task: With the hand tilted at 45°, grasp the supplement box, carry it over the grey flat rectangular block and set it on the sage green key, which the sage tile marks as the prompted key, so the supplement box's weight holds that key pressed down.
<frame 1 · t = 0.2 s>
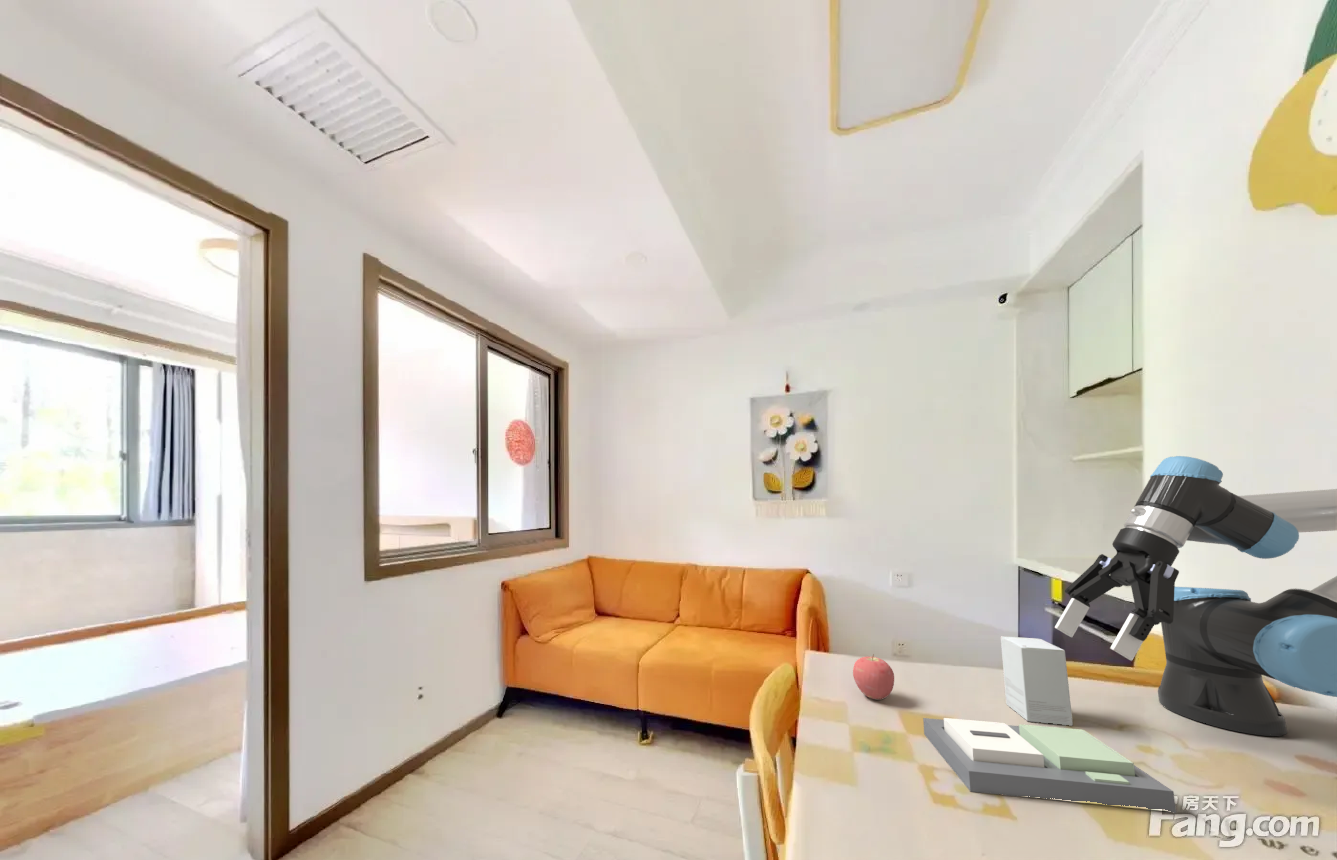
hand: (1089, 642, 77), 15 cm above the table, tool tilted 30°, fingers open, 13 cm apart
apple: (874, 698, 89), on the table
supplement box: (1038, 716, 83), on the table
grey flat rectangular block: (1032, 768, 66), on the table
key: (1072, 749, 66), point 3 cm above the table, slide at 0.0 cm
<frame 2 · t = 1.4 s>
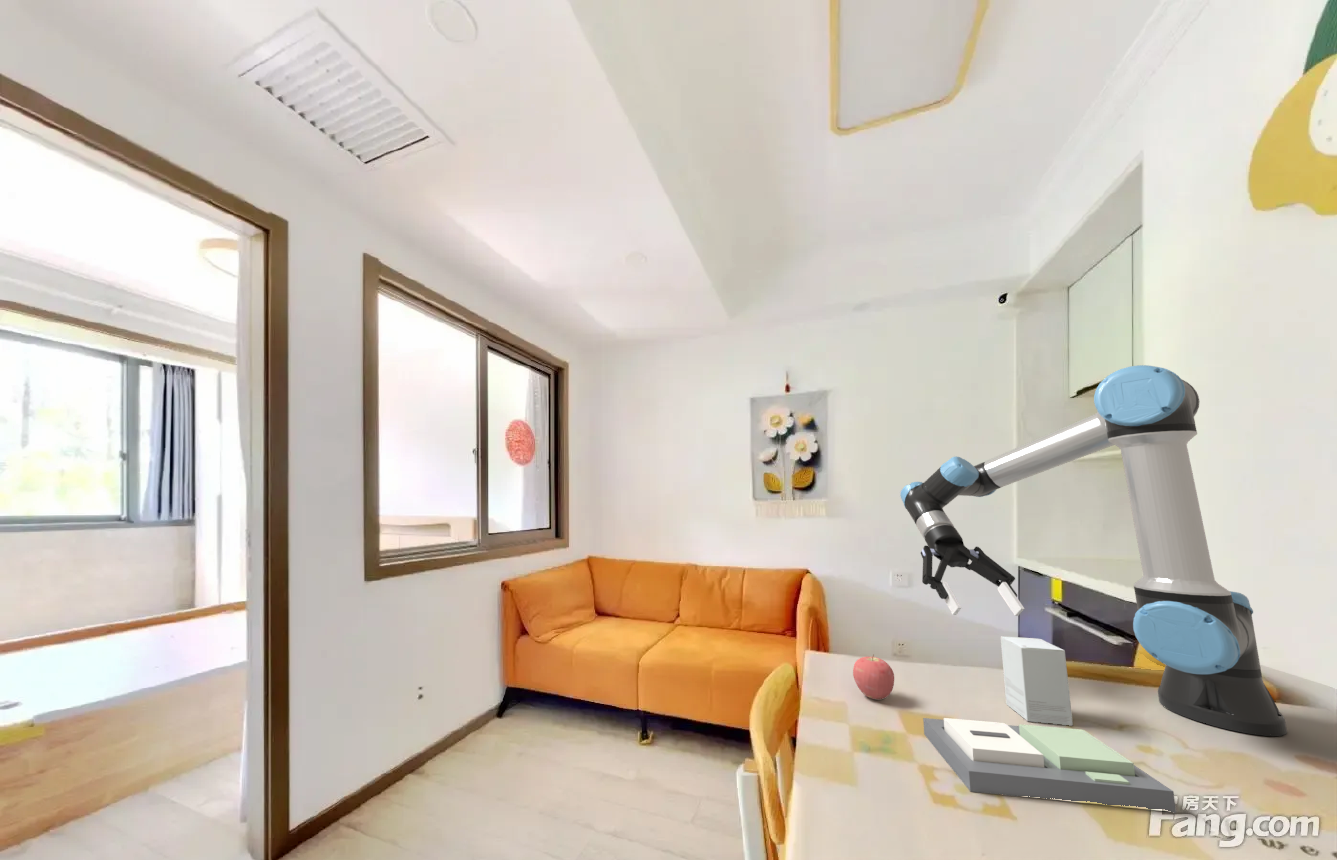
hand: (988, 612, 95), 15 cm above the table, tool tilted 45°, fingers open, 13 cm apart
nothing on the table moved.
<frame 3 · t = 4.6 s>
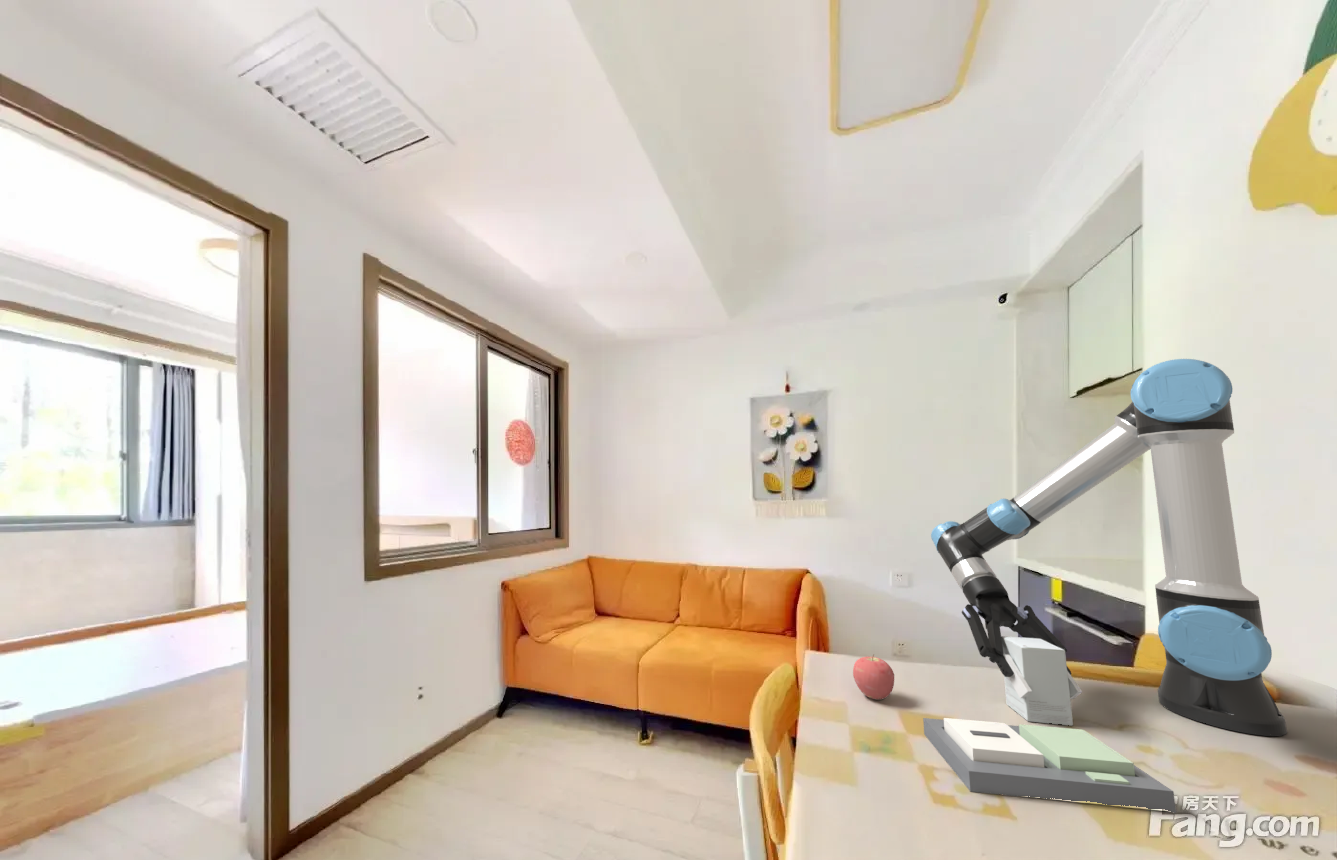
hand: (1051, 695, 80), 5 cm above the table, tool tilted 45°, fingers closed on supplement box, 8 cm apart
supplement box: (1038, 716, 83), on the table, touching gripper
everything else where it was.
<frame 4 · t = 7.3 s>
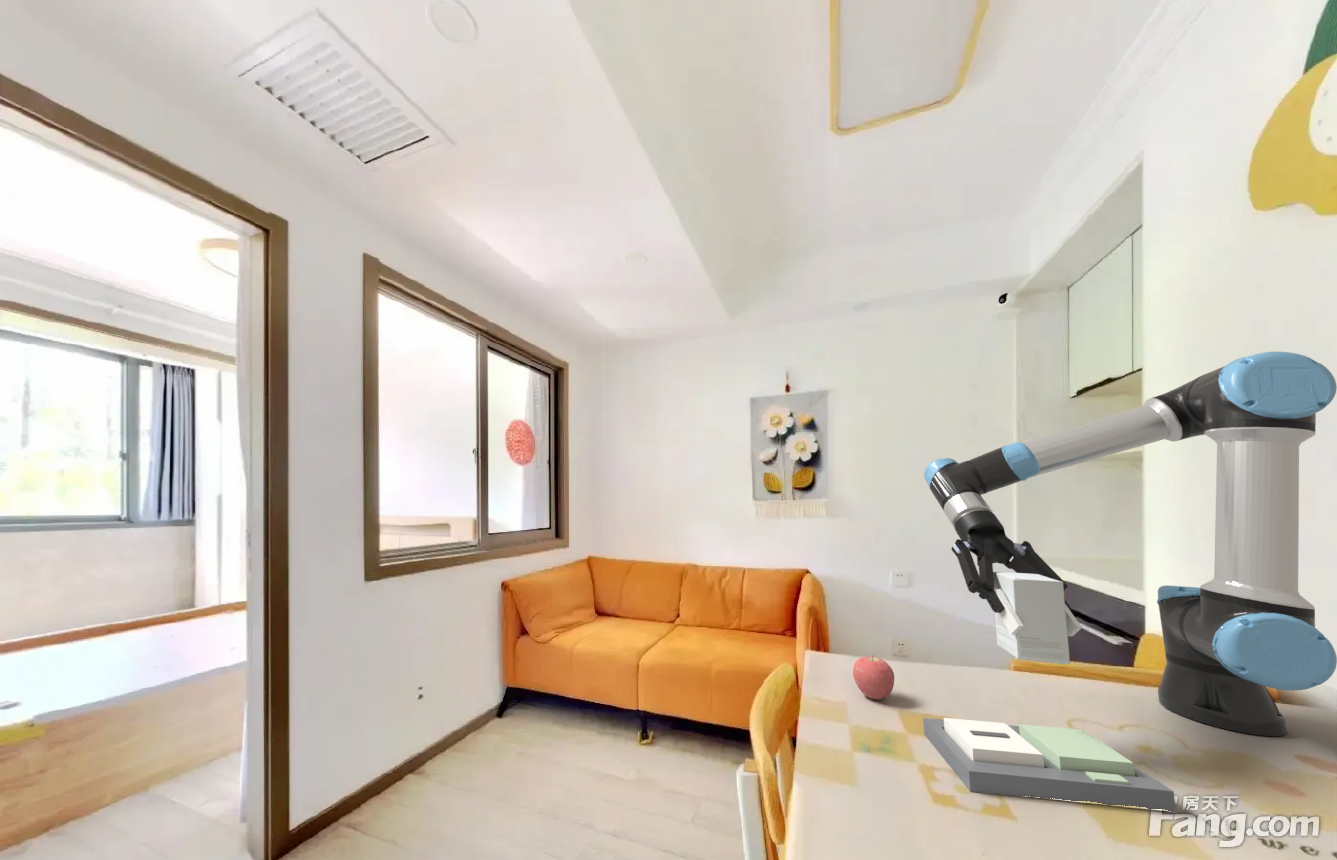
hand: (1046, 631, 72), 18 cm above the table, tool tilted 45°, fingers closed on supplement box, 8 cm apart
supplement box: (1031, 655, 75), point 13 cm above the table, touching gripper
everything else where it was.
when the fingers open (10 cm above the table, at t = 10.2 s): supplement box drops 3 cm, resting on key.
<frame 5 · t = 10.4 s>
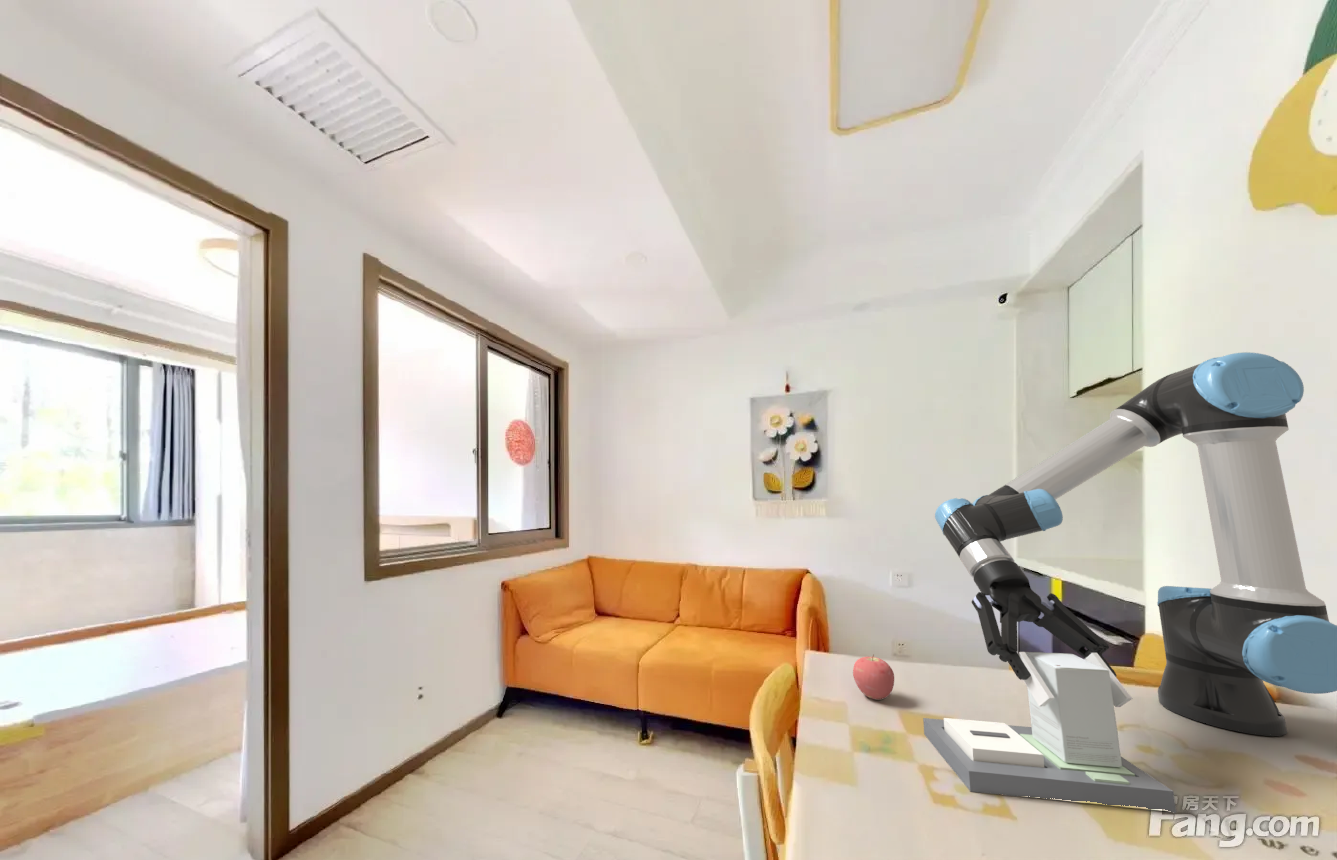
hand: (1085, 702, 64), 11 cm above the table, tool tilted 45°, fingers open, 11 cm apart
supplement box: (1074, 753, 66), point 2 cm above the table, touching key
key: (1073, 760, 66), point 2 cm above the table, slide at 1.4 cm, touching supplement box
everything else where it was.
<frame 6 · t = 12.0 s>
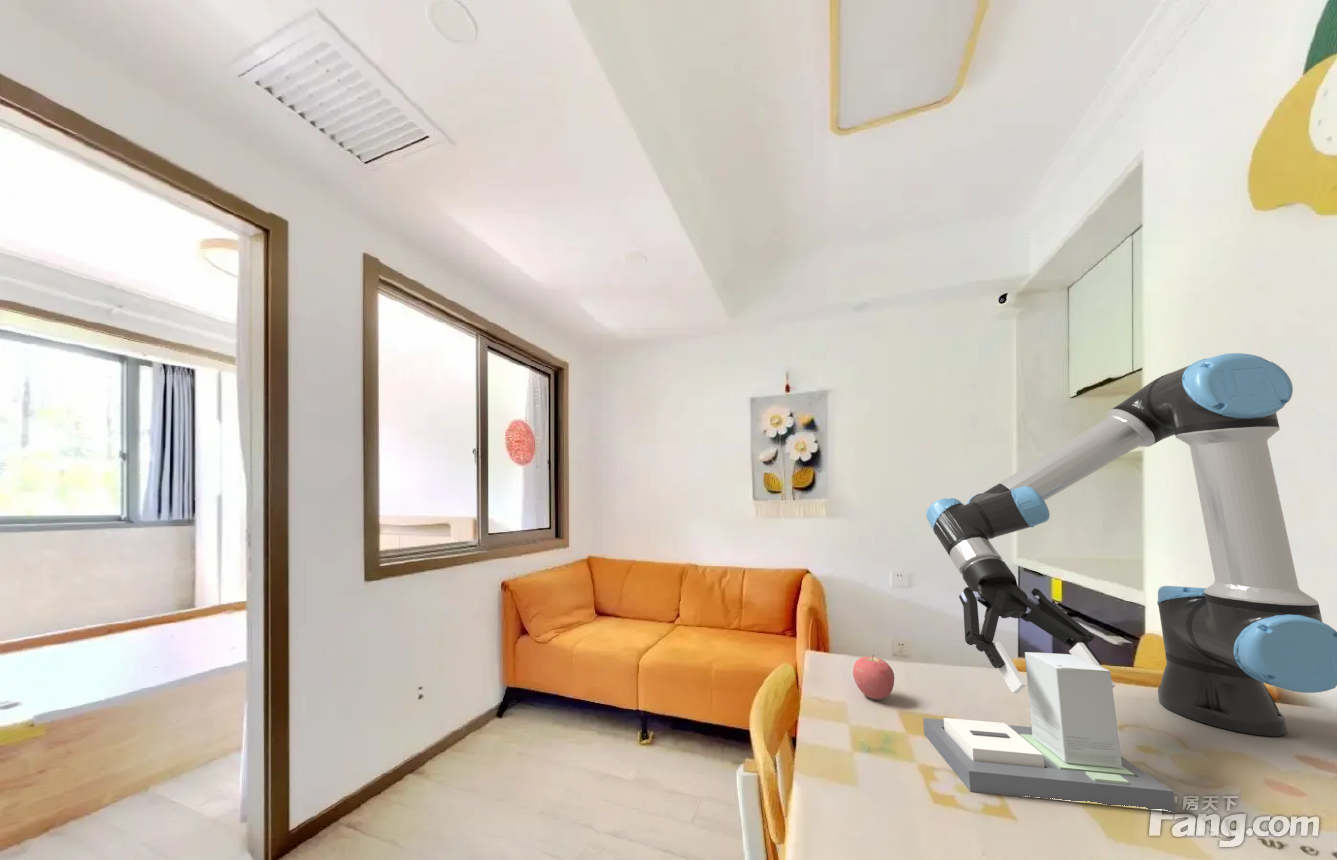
hand: (1063, 689, 67), 11 cm above the table, tool tilted 45°, fingers open, 13 cm apart
nothing on the table moved.
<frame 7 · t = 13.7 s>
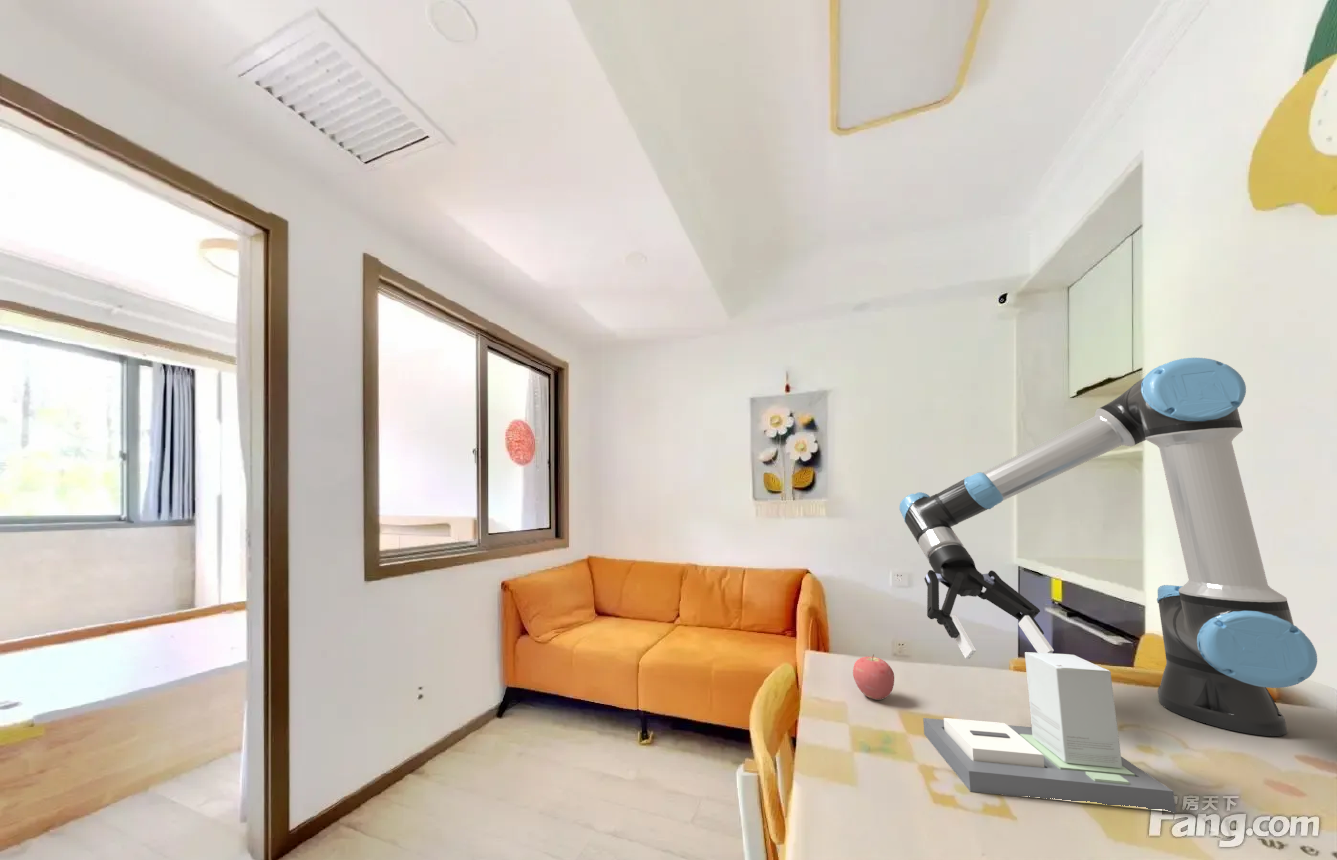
hand: (1009, 655, 78), 13 cm above the table, tool tilted 45°, fingers open, 13 cm apart
nothing on the table moved.
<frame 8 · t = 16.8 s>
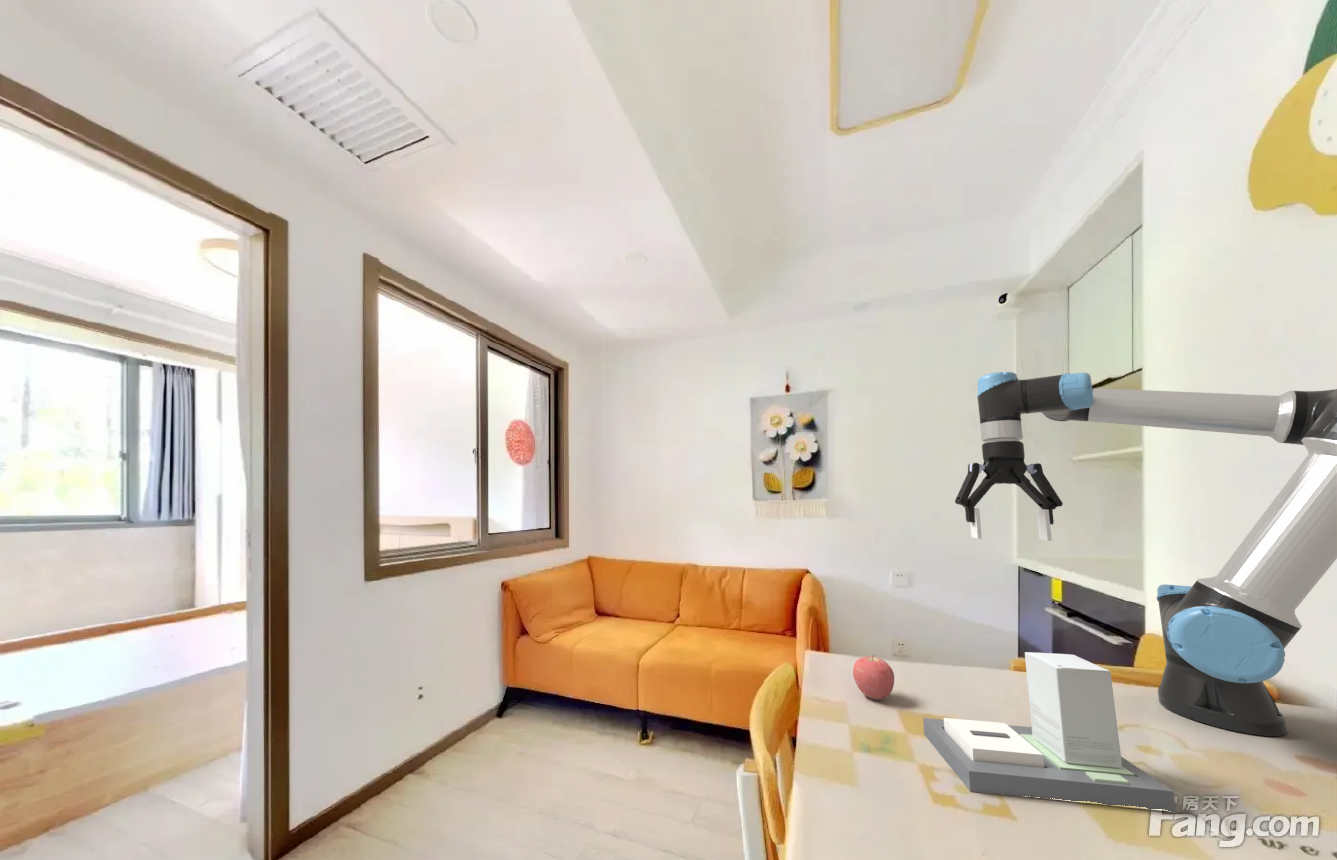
hand: (1010, 539, 98), 31 cm above the table, tool pointing down, fingers open, 13 cm apart
nothing on the table moved.
at the end: key slide at 1.4 cm; supplement box 0.3 cm off-centre on the key, point 3.8 cm above the key's base; supplement box tilted 0° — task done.
